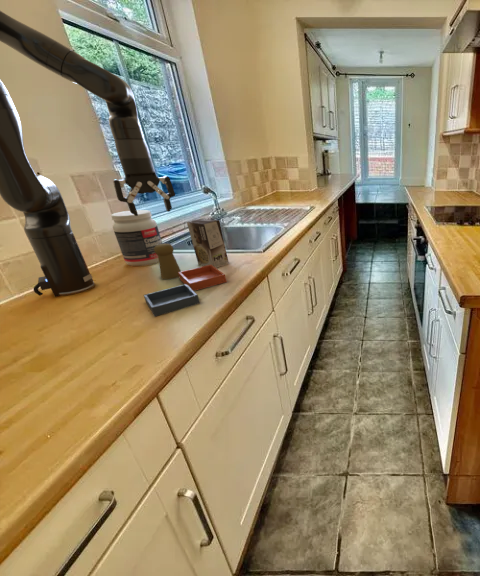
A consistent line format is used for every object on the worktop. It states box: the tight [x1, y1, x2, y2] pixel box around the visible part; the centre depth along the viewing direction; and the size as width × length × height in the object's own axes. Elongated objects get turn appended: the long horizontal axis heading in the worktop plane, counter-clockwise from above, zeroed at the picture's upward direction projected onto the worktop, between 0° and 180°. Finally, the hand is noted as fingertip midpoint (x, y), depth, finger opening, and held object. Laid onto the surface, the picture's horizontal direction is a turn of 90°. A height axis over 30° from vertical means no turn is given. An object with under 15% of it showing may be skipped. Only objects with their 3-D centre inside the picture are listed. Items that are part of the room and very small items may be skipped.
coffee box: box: [186, 218, 230, 269], centre depth 114 cm, size 9×6×16 cm
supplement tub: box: [110, 209, 163, 267], centre depth 116 cm, size 13×13×18 cm
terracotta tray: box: [178, 265, 228, 292], centre depth 102 cm, size 10×13×3 cm
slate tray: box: [143, 283, 201, 317], centre depth 88 cm, size 11×11×3 cm
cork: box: [154, 242, 182, 280], centre depth 105 cm, size 6×6×11 cm
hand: (152, 213), depth 98 cm, fingers open, 8 cm apart
